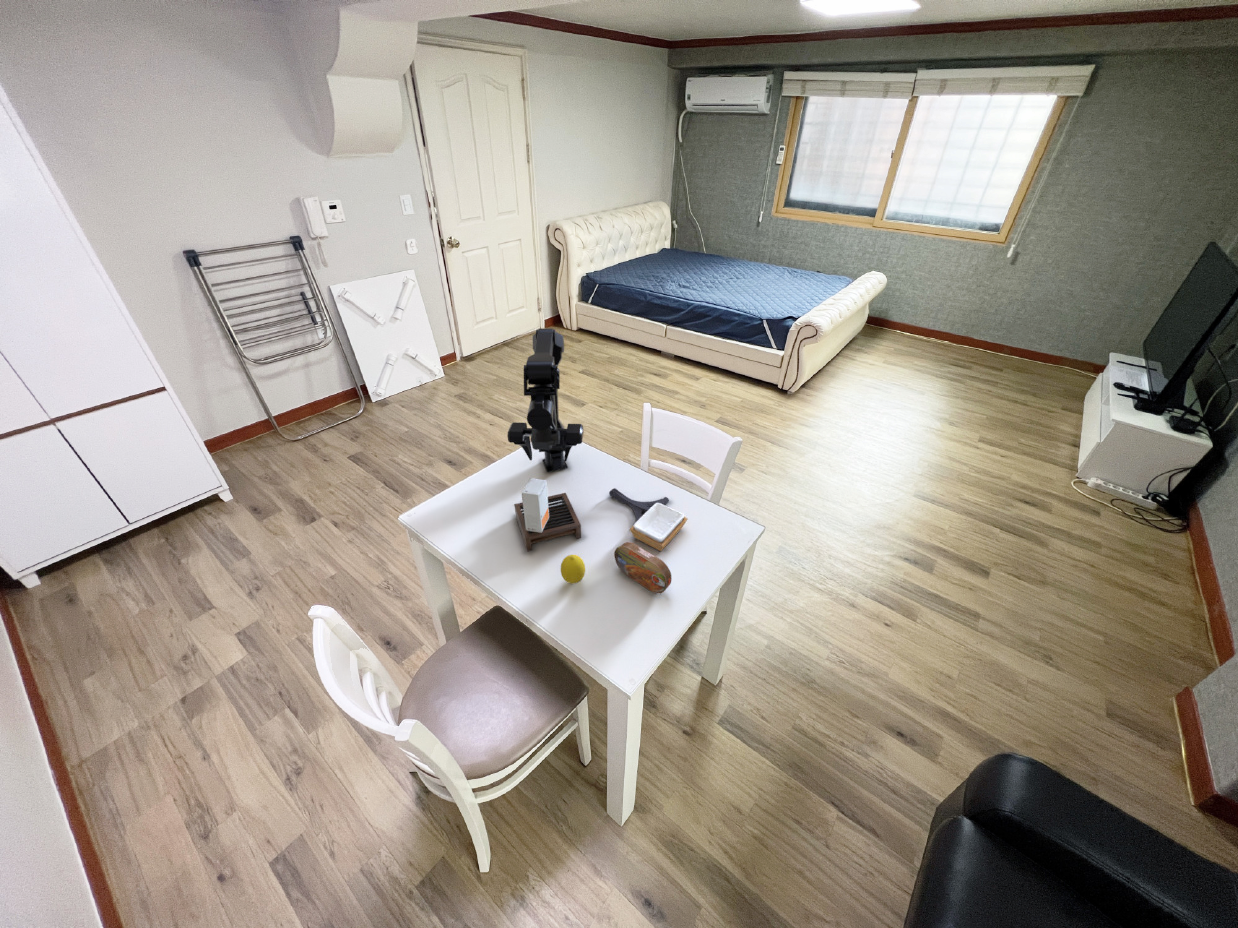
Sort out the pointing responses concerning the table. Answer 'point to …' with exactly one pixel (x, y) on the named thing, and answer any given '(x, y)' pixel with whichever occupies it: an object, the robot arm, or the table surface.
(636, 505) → the bracket
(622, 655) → the table surface
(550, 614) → the table surface
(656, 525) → the soap dish
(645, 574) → the tin
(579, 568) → the lemon
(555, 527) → the shoe rack
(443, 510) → the table surface
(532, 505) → the cosmetic box
